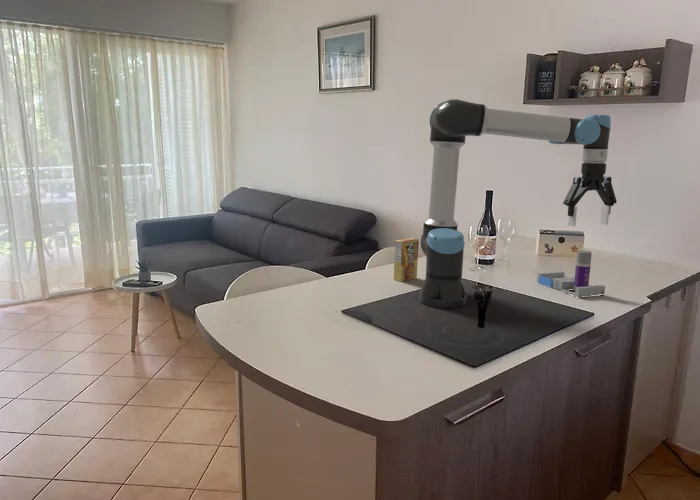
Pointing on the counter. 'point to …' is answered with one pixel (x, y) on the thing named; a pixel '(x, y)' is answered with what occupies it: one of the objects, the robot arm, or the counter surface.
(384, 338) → the counter surface
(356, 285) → the counter surface
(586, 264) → the container
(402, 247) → the candy box
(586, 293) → the grey and blue rack
